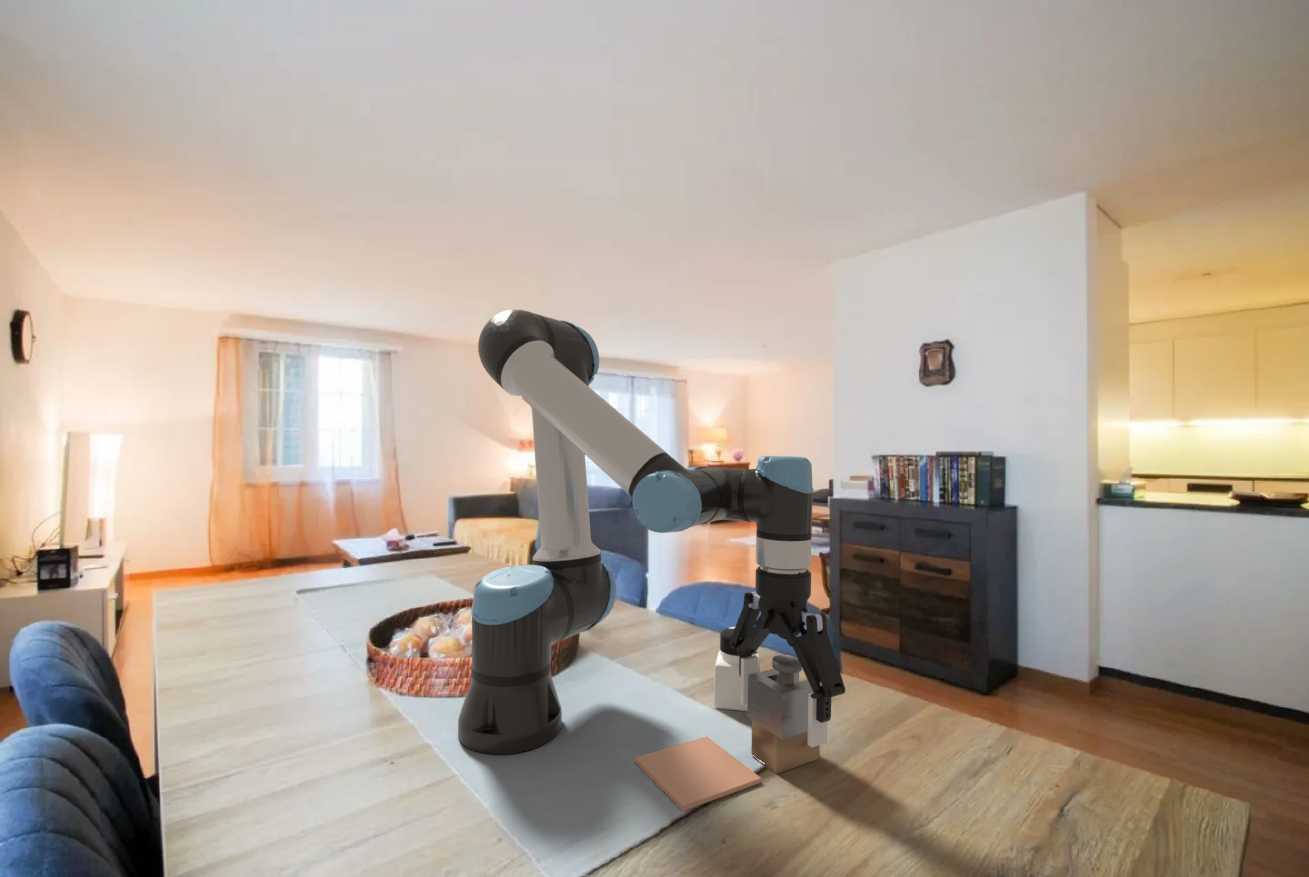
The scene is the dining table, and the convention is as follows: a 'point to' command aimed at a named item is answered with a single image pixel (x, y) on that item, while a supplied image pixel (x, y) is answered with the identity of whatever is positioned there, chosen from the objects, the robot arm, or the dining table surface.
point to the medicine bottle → (728, 675)
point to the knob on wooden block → (791, 749)
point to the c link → (778, 703)
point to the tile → (696, 772)
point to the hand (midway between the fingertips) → (780, 721)
